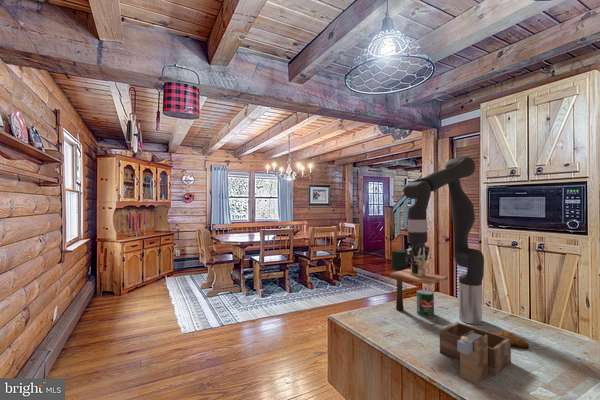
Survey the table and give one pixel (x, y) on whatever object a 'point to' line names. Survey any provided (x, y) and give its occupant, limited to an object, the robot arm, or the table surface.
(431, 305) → the canned tomato
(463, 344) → the drawer
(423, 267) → the lid
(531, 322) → the table surface
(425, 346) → the table surface
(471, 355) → the toolbox
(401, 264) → the stick grenade
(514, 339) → the croissant
